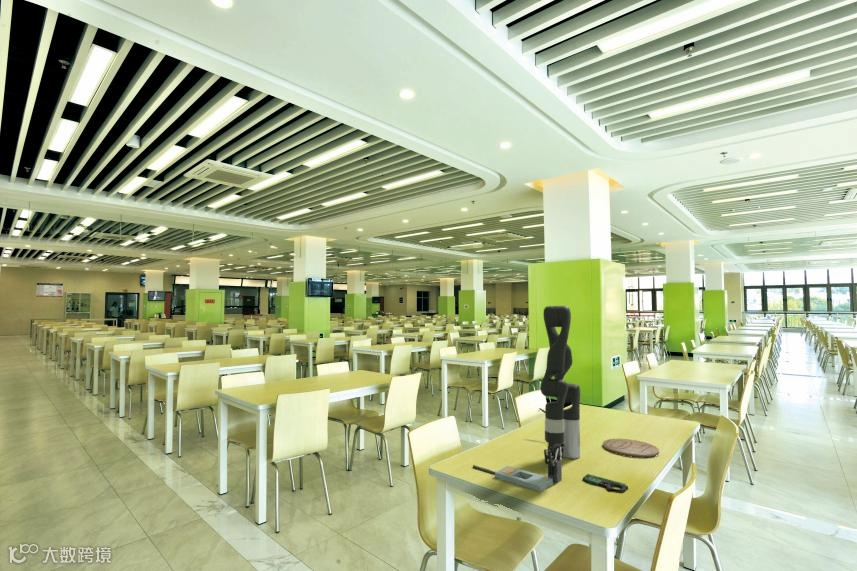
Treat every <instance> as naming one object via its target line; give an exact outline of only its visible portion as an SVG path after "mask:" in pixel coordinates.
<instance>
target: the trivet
mask: <svg viewBox="0 0 857 571" xmlns="http://www.w3.org/2000/svg"><path fill="white" fill-rule="evenodd" d="M602 448H603V449H604V448H605V449H604V450H606V451H607V450H608V452H609V451H610V453H612V452H613V454H615V453H617V454H616V455H618V454H621V455H620V456H622V455H625V456H624V457H627V456H632V457H631V458H635V457H644V458H643V459H648V457H652V458H654V457H653V456H656V455H658V454H660V450H659V448H658V447H657V446H655V445H653V444H651V443H647V442H645V441H640V440H635V439H630V438H629V439H627V438H609V439H606V440H603V442H602ZM658 456H659V455H658ZM656 457H657V456H656Z"/></svg>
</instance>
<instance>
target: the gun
mask: <svg viewBox="0 0 857 571" xmlns="http://www.w3.org/2000/svg"><path fill="white" fill-rule="evenodd" d="M582 481H584V483H586V484H589V485H593V486H598V487H601V488H603V489H605V490H606V491H607V492H610V493H611V492H613V493H614V492H615V493H619V494H623V493H625V492H627V491H628V490H629V486H628V485H627V484H626V483H623V482H619V481H616V480H612V479H608V478H604V477H601V476H597V475H593V474H589V473H587V474H586V475H584V476H583V477H582Z"/></svg>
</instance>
